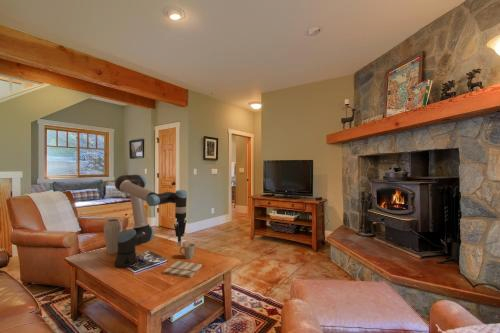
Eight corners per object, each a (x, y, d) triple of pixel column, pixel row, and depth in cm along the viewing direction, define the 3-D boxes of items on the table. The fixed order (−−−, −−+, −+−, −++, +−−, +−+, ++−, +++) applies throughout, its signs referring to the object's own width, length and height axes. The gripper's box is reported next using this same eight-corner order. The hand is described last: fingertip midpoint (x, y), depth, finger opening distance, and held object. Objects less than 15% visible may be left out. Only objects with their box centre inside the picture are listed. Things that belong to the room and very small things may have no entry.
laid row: (161, 274, 156) (161, 271, 156) (175, 263, 172) (175, 261, 172) (191, 279, 150) (191, 276, 150) (203, 267, 167) (203, 265, 167)
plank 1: (169, 269, 163) (169, 267, 162) (176, 262, 171) (176, 260, 171) (181, 270, 160) (181, 268, 160) (188, 264, 169) (188, 262, 169)
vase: (125, 251, 193) (125, 219, 193) (108, 257, 182) (108, 223, 182) (116, 248, 200) (116, 217, 200) (99, 253, 189) (100, 220, 189)
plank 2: (182, 271, 160) (182, 269, 160) (189, 264, 169) (189, 262, 169) (195, 273, 158) (195, 270, 157) (201, 266, 166) (201, 264, 166)
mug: (191, 260, 178) (192, 247, 178) (176, 259, 181) (176, 246, 180) (196, 256, 186) (196, 244, 186) (181, 255, 189) (182, 242, 189)
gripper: (180, 214, 159) (179, 249, 160) (190, 210, 172) (189, 243, 172) (170, 213, 161) (169, 248, 161) (180, 210, 174) (180, 241, 174)
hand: (179, 245), depth 167 cm, fingers closed
